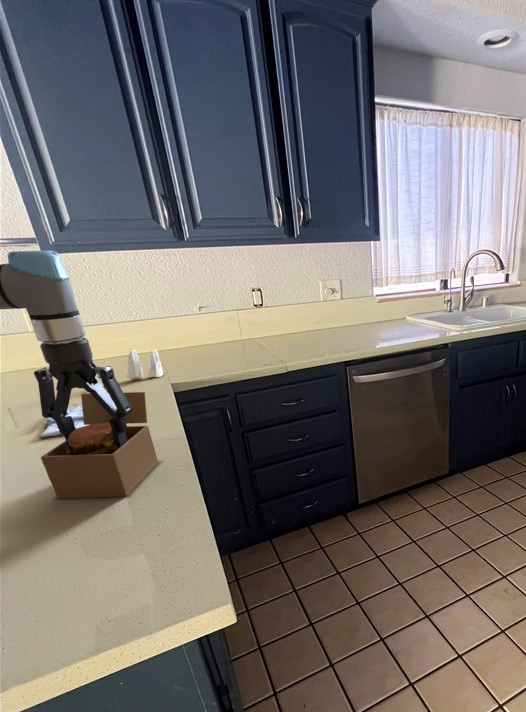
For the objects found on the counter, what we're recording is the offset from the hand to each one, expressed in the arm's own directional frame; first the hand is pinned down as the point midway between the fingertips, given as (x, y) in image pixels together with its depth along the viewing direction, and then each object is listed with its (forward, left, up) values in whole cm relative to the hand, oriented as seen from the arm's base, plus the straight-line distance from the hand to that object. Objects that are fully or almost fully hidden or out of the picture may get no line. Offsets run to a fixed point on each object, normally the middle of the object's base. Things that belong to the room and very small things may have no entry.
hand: (99, 446), depth 89 cm
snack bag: (-26, +34, -8) cm, 43 cm away
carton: (0, 0, -8) cm, 8 cm away
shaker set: (-28, +74, -8) cm, 79 cm away
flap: (0, +8, +5) cm, 10 cm away
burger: (0, 0, -1) cm, 1 cm away
